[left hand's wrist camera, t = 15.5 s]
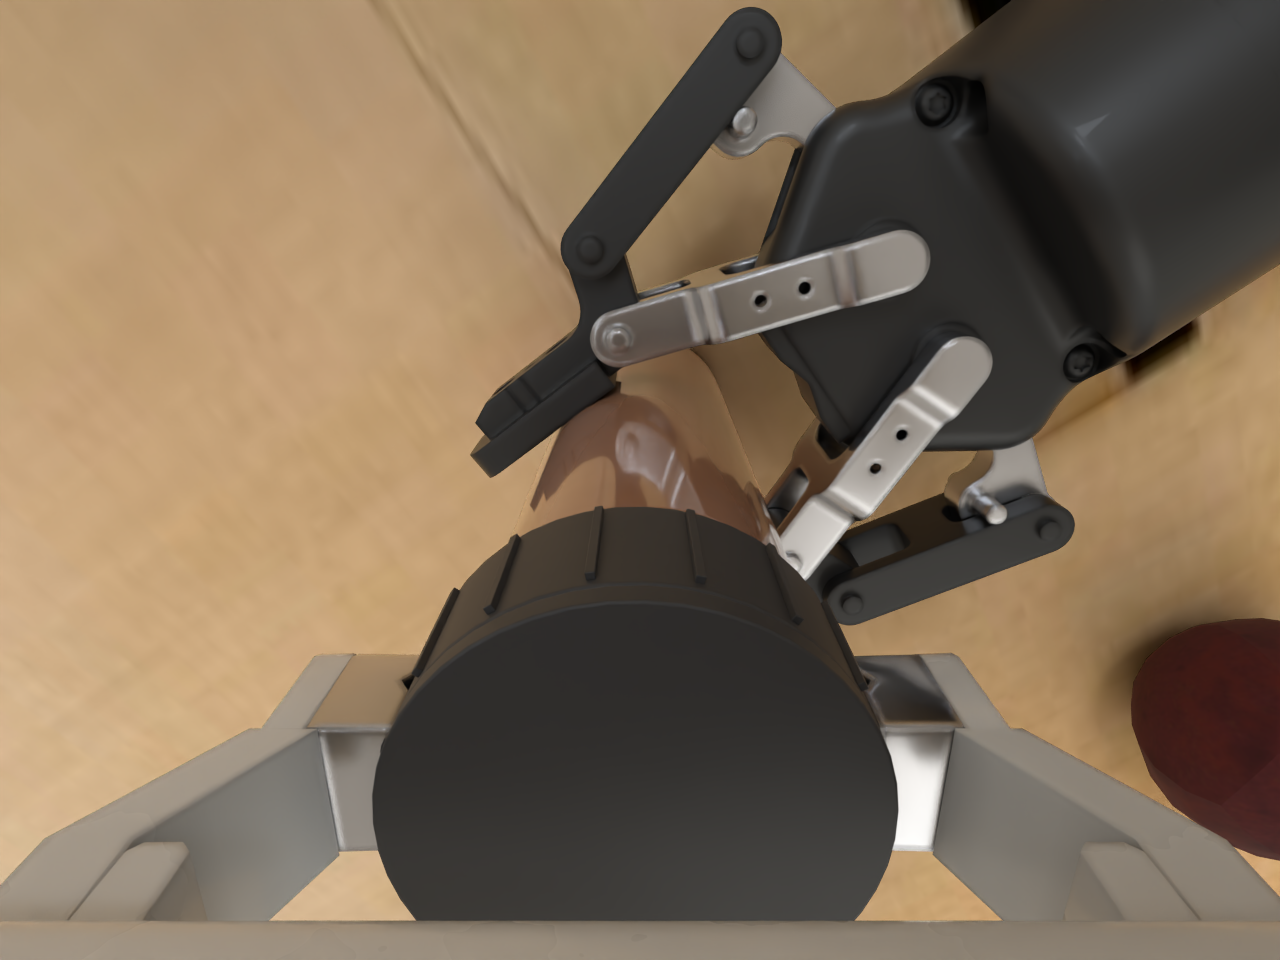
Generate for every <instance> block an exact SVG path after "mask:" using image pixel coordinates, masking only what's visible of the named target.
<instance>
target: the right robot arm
mask: <svg viewBox="0 0 1280 960" xmlns="http://www.w3.org/2000/svg"><path fill="white" fill-rule="evenodd" d="M781 47H782V37H781V32H780V28H779V26H778V24H777V22H776V21H775V19H774V18H773V17H772V16H771V15H770V14H769V13H768V12H766V11H765V10H762V9H760V8H756V7H747V8H742V9H740V10H738V11H736V12H734V13H733V14H732V15H730V16H729V17H728V18H727V20H726V21H725V22H724V23H723V25H722V26H721V27H720V29H719V30H718V31H717V33H716V34H715V35H714V36H713V38H712V39H711V40H710V42H709V43H708V44H707V46H706V47H705V48H704V50H703V51H702V52H701V54H700V55H699V56H698V58H697V59H696V60H695V61H694V63H693V64H692V65H691V67H690V68H689V69H688V71H687V72H686V73H685V75H684V76H683V77H682V79H681V80H680V81H679V82H678V84H677V85H676V86H675V88H674V89H673V90H672V92H671V93H670V94H669V96H668V97H667V98H666V100H665V101H664V102H663V104H662V105H661V106H660V107H659V109H658V110H657V111H656V113H655V114H654V115H653V117H652V118H651V119H650V121H649V122H648V123H647V125H646V126H645V127H644V128H643V130H642V131H641V132H640V134H639V135H638V136H637V138H636V139H635V140H634V142H633V143H632V144H631V146H630V147H629V148H628V150H627V151H626V152H625V153H624V155H623V156H622V157H621V159H620V160H619V161H618V163H617V164H616V165H615V167H614V168H613V169H612V171H611V172H610V173H609V175H608V176H607V177H606V178H605V180H604V181H603V182H602V184H601V185H600V186H599V188H598V189H597V190H596V192H595V193H594V194H593V196H592V197H591V198H590V199H589V201H588V202H587V203H586V205H585V206H584V207H583V209H582V210H581V211H580V213H579V214H578V215H577V217H576V218H575V219H574V221H573V222H572V223H571V224H570V226H569V227H568V228H567V230H566V231H565V233H564V235H563V238H562V241H561V255H562V259H563V261H564V263H565V265H566V267H567V268H568V269H569V271H570V275H571V278H572V281H573V284H574V287H575V290H576V293H577V296H578V299H579V303H580V310H581V313H580V320H579V324H578V325H577V327H576V328H575V329H574V330H573V331H571V332H570V333H569V334H567V335H566V336H565V337H564V338H562V339H561V340H560V341H558V342H557V343H556V344H555V345H553V346H552V347H551V348H549V349H548V350H547V351H546V352H544V353H543V354H542V355H540V356H539V357H538V358H537V359H535V360H534V361H533V362H531V363H530V364H529V365H528V366H526V367H525V368H524V369H522V370H521V371H520V372H519V373H517V374H516V375H515V376H513V377H512V378H511V379H509V380H508V381H507V382H506V383H504V384H503V385H502V386H500V387H499V388H498V389H497V390H496V391H495V393H494V394H493V395H492V396H491V398H490V399H489V400H488V401H487V403H486V404H485V406H484V408H483V410H482V411H481V413H480V415H479V417H478V419H477V421H476V422H475V423H476V424H477V426H478V427H479V428H480V429H481V430H482V431H483V433H484V434H485V435H484V436H483V437H482V438H481V440H480V441H479V443H478V444H477V445H476V447H475V448H474V450H473V451H472V453H471V454H470V455H471V457H472V458H473V459H474V460H475V461H476V462H477V463H478V465H479V466H480V467H481V468H482V469H483V470H484V471H485V473H486V474H487V475H488V476H489V477H490V478H491V477H494V476H495V475H497V474H499V473H500V472H501V471H503V470H504V469H506V468H507V467H508V466H510V465H511V464H512V463H514V462H515V461H516V460H518V459H519V458H520V457H522V456H523V455H524V454H526V453H527V452H528V451H530V450H531V449H532V448H534V447H535V446H536V445H538V444H539V443H540V442H542V441H543V440H544V439H546V438H547V437H548V436H550V435H551V434H552V433H554V432H555V431H556V430H558V429H559V428H561V427H562V426H563V425H565V424H566V423H567V422H569V421H570V420H571V419H572V418H573V417H574V416H576V415H577V414H579V413H580V412H581V411H583V410H584V409H586V408H587V407H589V406H590V405H591V404H593V403H594V402H595V401H597V400H598V399H599V398H601V397H602V396H603V395H605V394H606V393H607V392H609V391H610V390H611V389H613V388H614V387H615V384H616V377H617V371H619V370H620V369H621V368H623V367H626V366H630V365H633V364H636V363H640V362H643V361H647V360H650V359H654V358H657V357H661V356H664V355H667V354H671V353H674V352H678V351H681V350H685V349H688V348H691V347H695V346H699V345H705V344H708V345H711V344H719V343H724V342H728V341H732V340H735V339H739V338H742V337H745V336H749V335H752V334H756V333H758V334H759V335H760V337H761V338H762V340H763V341H764V342H765V344H766V345H767V346H768V347H769V349H770V350H771V351H772V352H773V353H774V354H775V355H776V356H777V357H778V358H779V359H780V360H781V361H782V362H783V363H784V364H785V365H787V366H788V367H789V368H790V369H791V370H793V371H794V374H795V377H796V380H797V383H798V386H799V389H800V392H801V395H802V397H803V399H804V400H805V401H806V403H807V404H808V406H809V407H810V409H811V410H812V411H813V413H814V414H815V416H816V418H815V419H814V421H813V422H812V424H811V425H810V426H809V428H808V429H807V430H806V432H805V433H804V434H803V436H802V437H801V439H800V440H799V441H798V443H797V445H796V447H795V449H794V452H793V456H792V460H791V462H790V464H789V466H788V467H787V468H786V470H785V471H784V472H783V474H782V475H781V477H780V478H779V479H778V481H777V482H776V483H775V485H774V486H773V487H772V489H771V490H770V491H769V493H768V494H767V496H766V497H765V498H764V500H765V503H766V505H767V508H768V510H769V513H770V515H771V518H772V520H773V523H774V525H775V527H776V530H777V532H778V535H779V537H780V540H781V542H782V545H783V547H784V550H785V552H786V555H787V557H788V560H789V562H790V565H791V566H792V567H793V568H794V569H795V570H796V571H798V572H799V574H800V575H801V576H802V577H803V579H804V580H805V581H806V582H807V583H808V585H809V586H810V587H811V588H812V589H813V591H814V592H815V594H816V595H817V597H818V599H819V600H820V602H821V603H822V602H824V601H826V600H827V601H828V603H829V605H830V607H831V609H832V611H833V613H834V615H835V617H836V619H837V621H838V623H840V624H843V625H856V624H860V623H862V622H865V621H868V620H870V619H873V618H876V617H878V616H881V615H884V614H886V613H889V612H892V611H895V610H897V609H900V608H903V607H905V606H908V605H911V604H913V603H916V602H919V601H921V600H924V599H927V598H930V597H932V596H935V595H938V594H940V593H943V592H946V591H948V590H951V589H954V588H956V587H959V586H962V585H965V584H967V583H970V582H973V581H975V580H978V579H981V578H983V577H986V576H989V575H991V574H994V573H997V572H1000V571H1002V570H1005V569H1008V568H1010V567H1013V566H1016V565H1018V564H1021V563H1024V562H1026V561H1029V560H1032V559H1035V558H1037V557H1040V556H1043V555H1045V554H1048V553H1051V552H1053V551H1056V550H1058V549H1060V548H1061V547H1063V546H1064V545H1065V544H1066V543H1067V542H1068V541H1069V540H1070V538H1071V536H1072V534H1073V532H1074V527H1075V523H1074V518H1073V516H1072V514H1071V513H1070V512H1069V511H1068V510H1067V509H1065V508H1064V507H1062V506H1061V505H1060V504H1058V503H1057V502H1056V501H1055V500H1054V499H1053V498H1052V497H1050V496H1049V494H1048V493H1047V489H1046V486H1045V482H1044V478H1043V475H1042V471H1041V468H1040V464H1039V460H1038V457H1037V453H1036V450H1035V446H1034V442H1033V439H1032V437H1033V436H1035V435H1036V434H1037V433H1038V432H1039V431H1040V430H1041V429H1042V428H1043V426H1044V425H1045V424H1046V422H1047V421H1048V419H1049V418H1050V416H1051V414H1052V413H1053V411H1054V410H1055V408H1056V407H1057V406H1058V404H1059V403H1060V402H1061V400H1062V399H1063V398H1064V397H1065V396H1066V395H1067V394H1068V393H1069V392H1070V391H1071V390H1072V389H1073V388H1074V387H1075V386H1076V385H1078V384H1079V383H1081V382H1082V381H1084V380H1086V379H1088V378H1090V377H1092V376H1094V375H1096V374H1098V373H1100V372H1103V371H1105V370H1107V369H1109V368H1111V367H1114V366H1116V365H1118V364H1121V363H1123V362H1125V361H1127V360H1129V359H1131V358H1133V357H1135V356H1137V355H1139V354H1140V353H1142V352H1144V351H1145V350H1147V349H1148V348H1150V347H1151V346H1153V345H1155V344H1156V343H1158V342H1159V341H1161V340H1162V339H1164V338H1165V337H1167V336H1169V335H1170V334H1172V333H1173V332H1175V331H1176V330H1178V329H1180V328H1181V327H1183V326H1184V325H1186V324H1187V323H1189V322H1190V321H1192V320H1194V319H1195V318H1197V317H1198V316H1200V315H1201V314H1203V313H1204V312H1206V311H1208V310H1209V309H1211V308H1212V307H1214V306H1215V305H1217V304H1218V303H1220V302H1222V301H1223V300H1225V299H1226V298H1228V297H1229V296H1231V295H1232V294H1234V293H1236V292H1237V291H1239V290H1240V289H1242V288H1243V287H1245V286H1246V285H1248V284H1250V283H1251V282H1253V281H1254V280H1256V279H1257V278H1259V277H1260V276H1262V275H1264V274H1265V273H1267V272H1268V271H1270V270H1271V269H1273V268H1275V267H1276V266H1278V265H1279V264H1280V0H1012V1H1010V2H1009V3H1008V4H1006V5H1005V6H1004V7H1002V8H1001V9H1000V10H999V11H997V12H996V13H995V14H993V15H992V16H991V17H990V18H988V19H987V20H986V21H984V22H983V23H982V24H981V25H979V26H978V27H977V28H975V29H974V30H973V31H971V32H970V33H969V34H968V35H966V36H965V37H964V38H962V39H961V40H960V41H959V42H957V43H956V44H955V45H953V46H952V47H951V48H950V49H948V50H947V51H946V52H944V53H943V54H942V55H940V56H939V57H938V58H937V59H935V60H934V61H933V62H931V63H930V64H929V65H928V66H926V67H925V68H924V69H922V70H921V71H920V72H918V73H917V74H916V75H915V76H913V77H912V78H911V79H909V80H908V81H907V82H906V83H904V84H903V85H901V86H900V87H899V88H897V89H896V90H894V91H893V92H891V93H890V94H888V95H886V96H884V97H880V98H877V99H872V100H866V101H857V102H852V103H848V104H845V105H843V106H840V107H838V108H835V107H834V106H833V105H832V104H831V103H830V102H829V101H828V100H827V99H826V98H825V97H824V96H823V95H822V94H821V93H820V92H819V91H818V90H817V89H816V88H815V87H814V86H813V85H812V84H811V83H810V82H809V81H808V80H807V79H806V78H805V77H804V76H803V75H802V74H801V73H800V72H799V71H798V70H797V69H796V68H795V67H794V66H793V65H792V64H791V63H790V62H789V61H788V60H787V59H786V58H785V57H784V56H783V55H782V54H781V53H780V52H781ZM774 140H778V141H783V142H787V143H788V144H790V145H792V146H793V147H794V148H795V150H794V153H793V156H792V159H791V162H790V165H789V168H788V171H787V173H786V176H785V179H784V182H783V185H782V188H781V191H780V194H779V197H778V200H777V202H776V205H775V208H774V211H773V214H772V217H771V220H770V223H769V226H768V229H767V231H766V234H765V237H764V240H763V243H762V246H761V249H760V252H759V253H757V254H753V255H750V256H747V257H744V258H740V259H737V260H734V261H730V262H727V263H724V264H720V265H717V266H714V267H710V268H707V269H704V270H700V271H697V272H694V273H692V274H689V275H687V276H685V277H683V278H680V279H677V280H674V281H671V282H667V283H664V284H661V285H657V286H654V287H651V288H647V289H644V290H641V291H637V289H636V286H635V282H634V279H633V276H632V272H631V269H630V266H629V262H628V259H627V256H626V252H627V251H628V250H629V248H630V247H631V246H632V245H633V243H634V242H635V241H636V240H637V238H638V237H639V236H640V235H641V233H642V232H643V231H644V229H645V228H646V227H647V226H648V224H649V223H650V222H651V221H652V219H653V218H654V217H655V216H656V214H657V213H658V212H659V211H660V209H661V208H662V207H663V206H664V204H665V203H666V202H667V201H668V199H669V198H670V197H671V195H672V194H673V193H674V192H675V190H676V189H677V188H678V187H679V185H680V184H681V183H682V182H683V180H684V179H685V178H686V177H687V175H688V174H689V173H690V172H691V170H692V169H693V168H694V167H695V165H696V164H697V163H698V161H699V160H700V159H701V158H702V156H703V155H704V154H705V153H706V151H707V150H708V149H709V148H711V149H713V150H714V151H715V152H716V153H717V154H718V155H720V156H721V157H723V158H726V159H732V160H734V159H741V158H743V157H746V156H748V155H750V154H752V153H753V152H755V151H756V150H758V149H759V148H760V147H761V146H762V145H763V144H764V143H766V142H768V141H774ZM929 451H977V453H976V455H975V457H974V459H973V460H972V462H971V463H970V464H969V465H968V466H967V467H965V468H964V469H962V470H960V471H959V472H955V473H953V474H952V475H950V477H949V478H948V482H947V484H946V487H945V491H944V493H942V494H939V495H937V496H934V497H932V498H929V499H926V500H924V501H921V502H919V503H916V504H914V505H911V506H909V507H906V508H903V509H901V510H898V511H896V512H893V513H891V514H888V515H886V516H883V517H880V518H878V519H875V520H873V521H870V522H868V523H865V524H862V525H860V526H857V527H855V528H852V529H850V530H847V529H848V528H849V526H850V525H851V524H853V523H854V522H856V521H862V520H865V519H866V518H868V517H869V516H870V515H871V514H872V513H873V512H874V511H875V510H876V509H877V508H878V506H879V505H880V504H881V502H882V501H883V500H884V499H885V497H886V496H887V495H888V494H889V492H890V491H891V490H892V489H893V487H894V486H895V485H896V484H897V482H898V481H899V480H900V479H901V477H902V476H903V475H904V474H905V472H906V471H907V470H908V469H909V467H910V466H911V465H912V464H913V462H914V461H915V460H916V459H917V457H918V456H919V455H920V454H921V452H929ZM871 465H872V466H871ZM846 530H847V531H846Z"/></svg>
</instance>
